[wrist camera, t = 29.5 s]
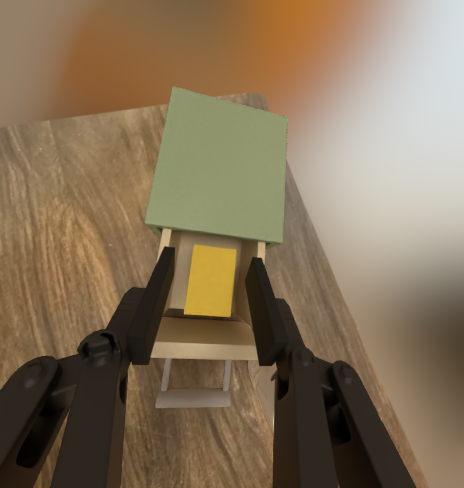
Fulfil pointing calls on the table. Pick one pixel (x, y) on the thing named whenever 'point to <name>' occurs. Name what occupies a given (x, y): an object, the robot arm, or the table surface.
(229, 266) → the sponge
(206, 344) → the drawer
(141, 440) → the table surface
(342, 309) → the table surface
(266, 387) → the white cup
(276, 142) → the cabinet
